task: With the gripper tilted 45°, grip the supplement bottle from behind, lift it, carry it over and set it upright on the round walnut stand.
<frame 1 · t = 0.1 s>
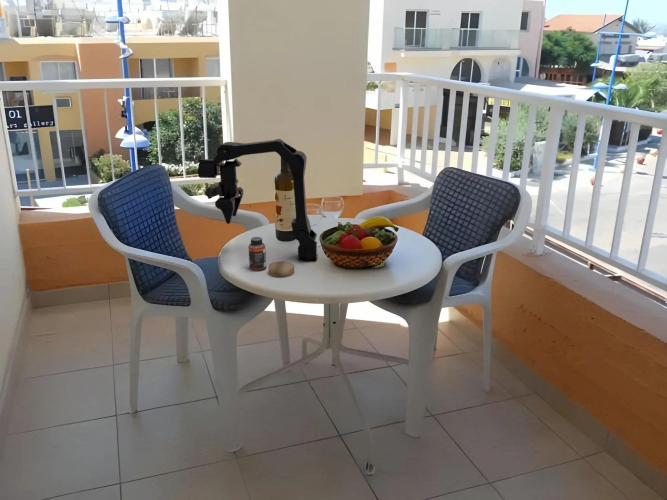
hand: (231, 219, 213), 15 cm above the table, tool pointing down, fingers open, 9 cm apart
walnut stand: (281, 272, 203), on the table
supplement bottle: (258, 268, 207), on the table
plant pot: (375, 265, 210), on the table
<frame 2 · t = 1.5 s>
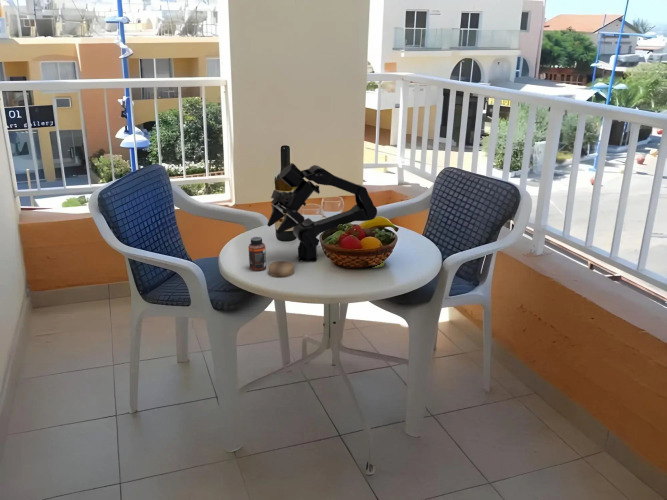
hand: (272, 229, 206), 13 cm above the table, tool tilted 45°, fingers open, 9 cm apart
nothing on the table moved.
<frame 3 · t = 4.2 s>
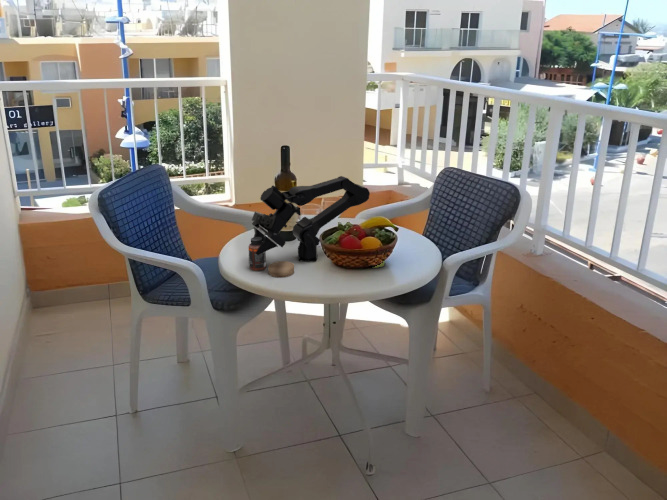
hand: (253, 251, 204), 7 cm above the table, tool tilted 45°, fingers closed on supplement bottle, 6 cm apart
supplement bottle: (258, 268, 207), on the table, touching gripper
everything else where it was.
when the fingers open (10 cm above the table, at t = 8.3 s): supplement bottle stays where it is, resting on walnut stand.
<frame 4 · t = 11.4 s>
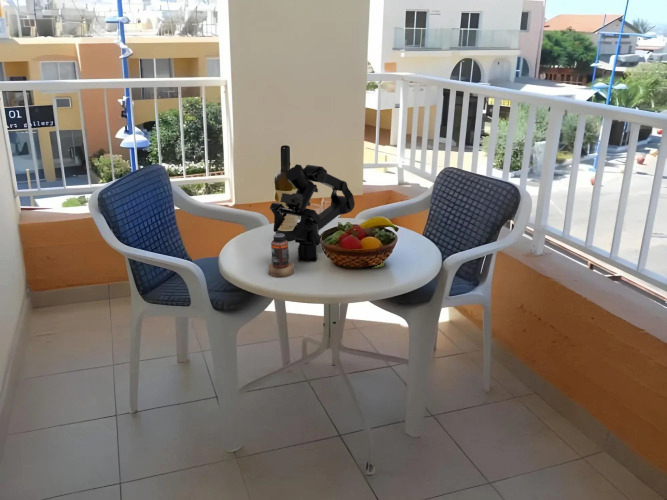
hand: (284, 233, 201), 14 cm above the table, tool tilted 45°, fingers open, 9 cm apart
supplement bottle: (280, 266, 203), point 2 cm above the table, touching walnut stand
everything else where it was.
at the end: supplement bottle 0.4 cm off-centre on the walnut stand, point 2.3 cm above the walnut stand's base; supplement bottle tilted 0°; the gripper is holding nothing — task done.
